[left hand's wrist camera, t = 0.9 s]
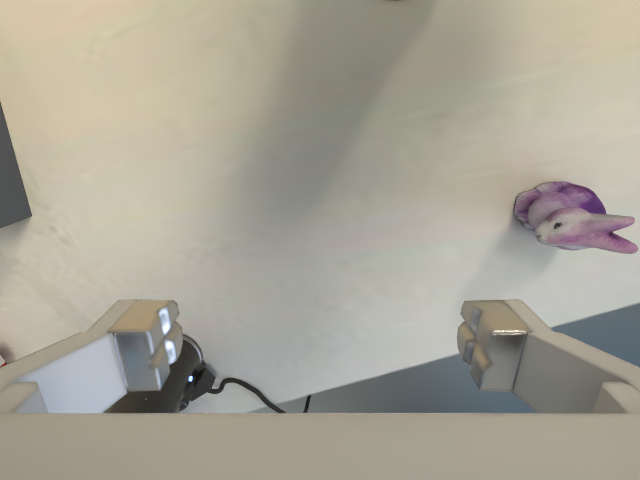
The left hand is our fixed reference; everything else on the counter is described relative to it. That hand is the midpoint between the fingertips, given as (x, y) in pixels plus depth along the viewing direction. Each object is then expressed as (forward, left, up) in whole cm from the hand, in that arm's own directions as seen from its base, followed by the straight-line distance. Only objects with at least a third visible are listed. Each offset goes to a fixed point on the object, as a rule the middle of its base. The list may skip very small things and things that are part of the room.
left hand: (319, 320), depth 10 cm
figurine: (+8, +33, -42) cm, 54 cm away
